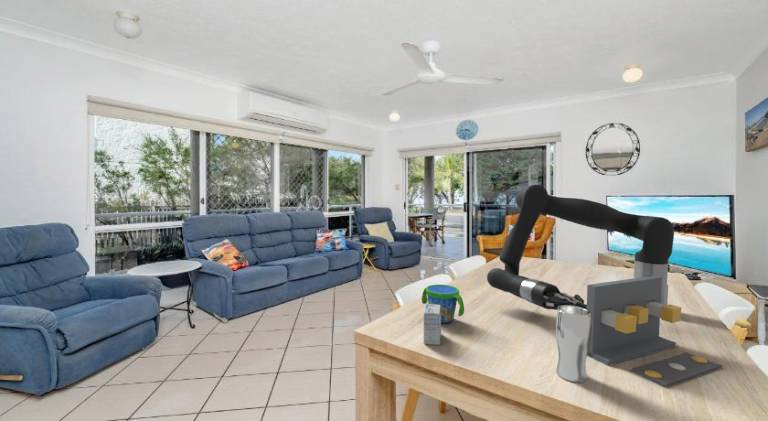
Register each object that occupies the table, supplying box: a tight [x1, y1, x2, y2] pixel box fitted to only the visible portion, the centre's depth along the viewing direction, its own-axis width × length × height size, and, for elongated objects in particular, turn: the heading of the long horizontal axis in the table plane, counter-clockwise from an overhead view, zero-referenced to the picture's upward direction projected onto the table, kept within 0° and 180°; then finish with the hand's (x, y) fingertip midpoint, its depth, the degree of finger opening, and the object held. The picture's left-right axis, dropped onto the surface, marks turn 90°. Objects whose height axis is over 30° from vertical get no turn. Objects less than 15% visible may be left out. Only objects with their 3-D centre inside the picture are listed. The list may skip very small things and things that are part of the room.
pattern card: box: [630, 351, 723, 388], centre depth 78 cm, size 22×7×1 cm, turn 112°
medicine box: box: [423, 303, 442, 346], centre depth 93 cm, size 8×4×9 cm, turn 168°
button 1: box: [601, 309, 637, 334], centre depth 83 cm, size 4×10×4 cm, turn 22°
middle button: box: [624, 305, 648, 324], centre depth 89 cm, size 4×10×4 cm, turn 22°
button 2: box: [646, 301, 682, 324], centre depth 90 cm, size 4×10×4 cm, turn 22°
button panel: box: [586, 276, 677, 367], centre depth 89 cm, size 27×10×18 cm, turn 112°
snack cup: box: [421, 284, 465, 324], centre depth 107 cm, size 16×10×10 cm
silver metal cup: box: [555, 305, 592, 384], centre depth 75 cm, size 7×7×15 cm
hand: (592, 311), depth 88 cm, fingers closed
